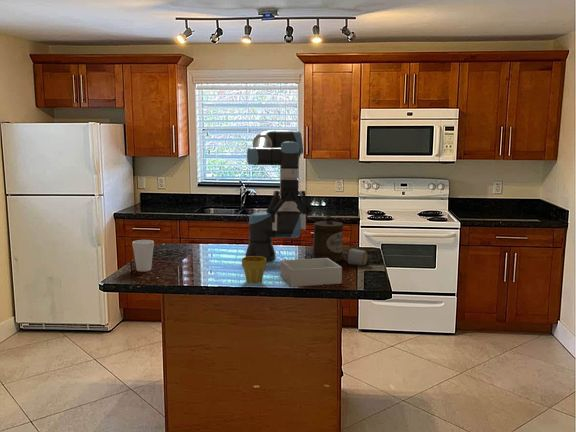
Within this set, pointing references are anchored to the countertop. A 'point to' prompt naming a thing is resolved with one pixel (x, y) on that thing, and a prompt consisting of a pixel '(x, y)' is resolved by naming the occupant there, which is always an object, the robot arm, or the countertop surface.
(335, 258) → the wooden container
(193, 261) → the countertop surface
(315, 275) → the crate
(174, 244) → the countertop surface
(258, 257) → the plant pot
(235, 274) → the countertop surface
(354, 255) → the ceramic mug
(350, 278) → the countertop surface
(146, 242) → the foam cup
